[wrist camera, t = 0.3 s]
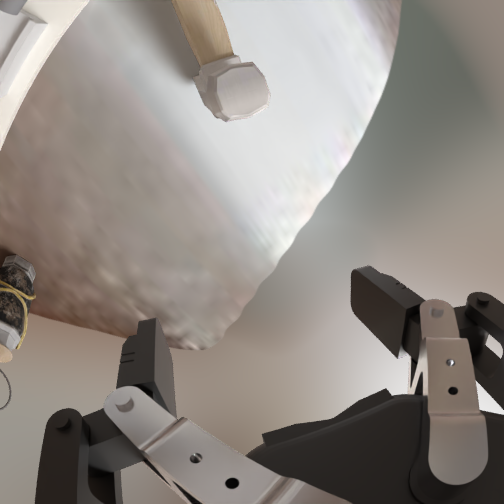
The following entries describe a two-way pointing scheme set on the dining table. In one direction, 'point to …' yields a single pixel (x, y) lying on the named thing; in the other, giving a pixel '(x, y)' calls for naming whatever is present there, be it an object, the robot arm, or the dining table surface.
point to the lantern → (14, 305)
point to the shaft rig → (28, 47)
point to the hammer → (220, 64)
